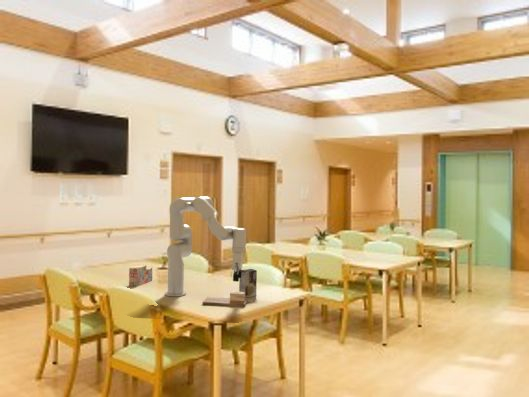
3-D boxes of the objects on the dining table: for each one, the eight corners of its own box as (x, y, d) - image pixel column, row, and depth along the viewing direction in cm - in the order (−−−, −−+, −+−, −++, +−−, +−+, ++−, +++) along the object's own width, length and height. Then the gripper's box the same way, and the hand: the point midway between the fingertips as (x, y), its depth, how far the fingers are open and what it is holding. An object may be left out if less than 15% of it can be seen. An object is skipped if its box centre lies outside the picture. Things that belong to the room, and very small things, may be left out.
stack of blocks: (144, 280, 329) (144, 262, 329) (152, 280, 328) (152, 263, 328) (128, 286, 308) (129, 267, 308) (137, 286, 307) (137, 268, 307)
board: (207, 299, 275) (207, 297, 275) (247, 301, 273) (247, 299, 273) (202, 304, 263) (202, 302, 263) (244, 306, 261) (244, 304, 261)
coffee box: (249, 294, 293) (250, 268, 293) (256, 296, 289) (257, 270, 288) (238, 296, 287) (239, 269, 287) (245, 298, 283) (245, 271, 282)
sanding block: (231, 299, 270) (231, 291, 270) (244, 300, 270) (245, 292, 269) (229, 301, 265) (230, 293, 265) (243, 302, 265) (244, 293, 264)
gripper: (234, 247, 276) (233, 276, 276) (229, 251, 259) (228, 282, 259) (247, 248, 275) (245, 277, 276) (243, 252, 258) (241, 283, 258)
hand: (237, 279), depth 267 cm, fingers open, 9 cm apart
